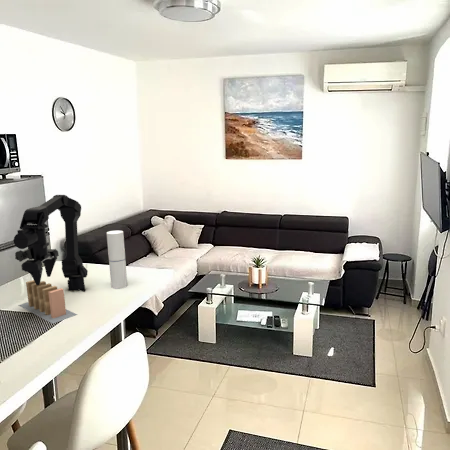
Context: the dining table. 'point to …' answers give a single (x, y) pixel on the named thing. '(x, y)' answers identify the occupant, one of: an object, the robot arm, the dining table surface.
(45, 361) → the dining table surface
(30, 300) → the domino
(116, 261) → the cylindrical container
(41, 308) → the domino
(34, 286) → the domino
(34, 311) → the mat
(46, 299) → the domino
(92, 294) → the dining table surface
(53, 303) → the terracotta domino
